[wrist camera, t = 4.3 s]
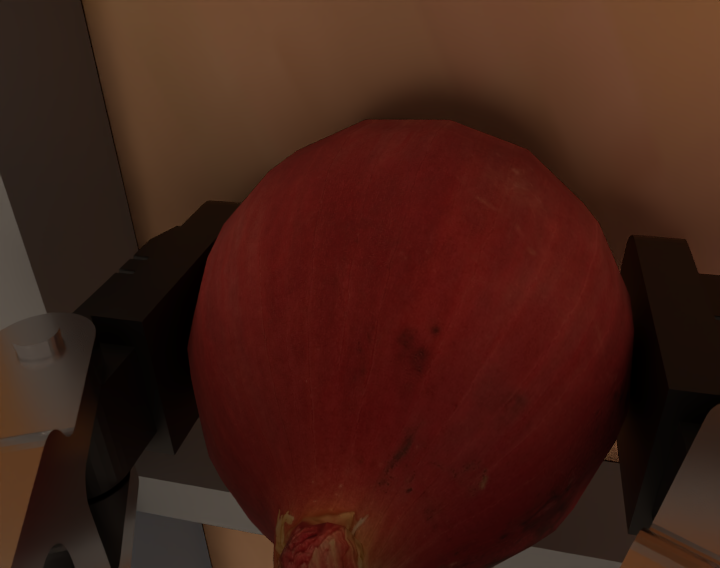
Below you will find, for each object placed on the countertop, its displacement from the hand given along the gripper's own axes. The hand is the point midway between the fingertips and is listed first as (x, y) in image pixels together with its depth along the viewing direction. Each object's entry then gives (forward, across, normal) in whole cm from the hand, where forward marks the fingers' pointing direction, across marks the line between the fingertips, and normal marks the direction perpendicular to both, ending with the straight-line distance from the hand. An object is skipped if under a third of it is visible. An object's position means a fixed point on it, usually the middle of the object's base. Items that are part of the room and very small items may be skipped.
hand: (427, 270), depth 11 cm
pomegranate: (+2, 0, 0) cm, 2 cm away
